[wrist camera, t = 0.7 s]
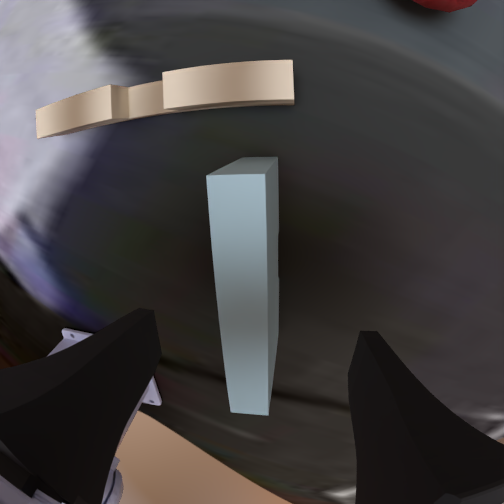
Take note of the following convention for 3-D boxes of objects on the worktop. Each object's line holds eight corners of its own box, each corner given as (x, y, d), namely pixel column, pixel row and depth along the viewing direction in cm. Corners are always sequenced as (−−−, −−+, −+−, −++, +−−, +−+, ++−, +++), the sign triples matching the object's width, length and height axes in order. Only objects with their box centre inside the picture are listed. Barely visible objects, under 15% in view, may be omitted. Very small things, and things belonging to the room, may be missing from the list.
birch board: (65, 134, 18) (37, 138, 15) (63, 108, 17) (35, 109, 14) (294, 105, 15) (294, 99, 13) (293, 71, 15) (292, 59, 12)
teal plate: (250, 331, 22) (230, 411, 15) (242, 157, 17) (206, 175, 10) (278, 332, 21) (268, 415, 14) (278, 156, 17) (265, 174, 10)
